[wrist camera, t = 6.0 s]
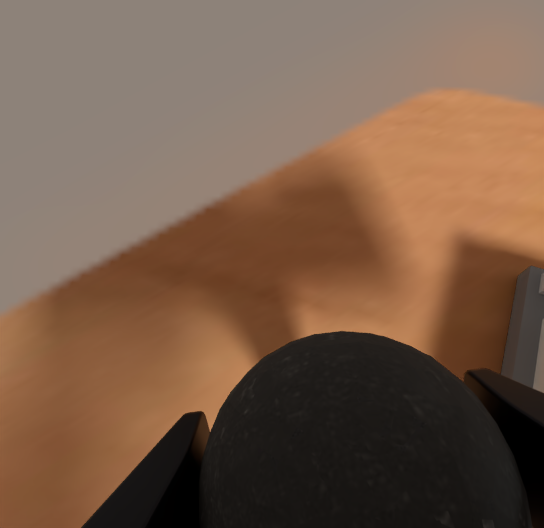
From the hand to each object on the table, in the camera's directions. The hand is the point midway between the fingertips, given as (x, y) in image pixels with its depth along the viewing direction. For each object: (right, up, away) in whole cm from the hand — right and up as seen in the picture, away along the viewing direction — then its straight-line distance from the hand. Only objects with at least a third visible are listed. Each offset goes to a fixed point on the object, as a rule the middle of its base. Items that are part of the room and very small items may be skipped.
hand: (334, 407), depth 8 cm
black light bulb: (+1, -4, +6) cm, 7 cm away
